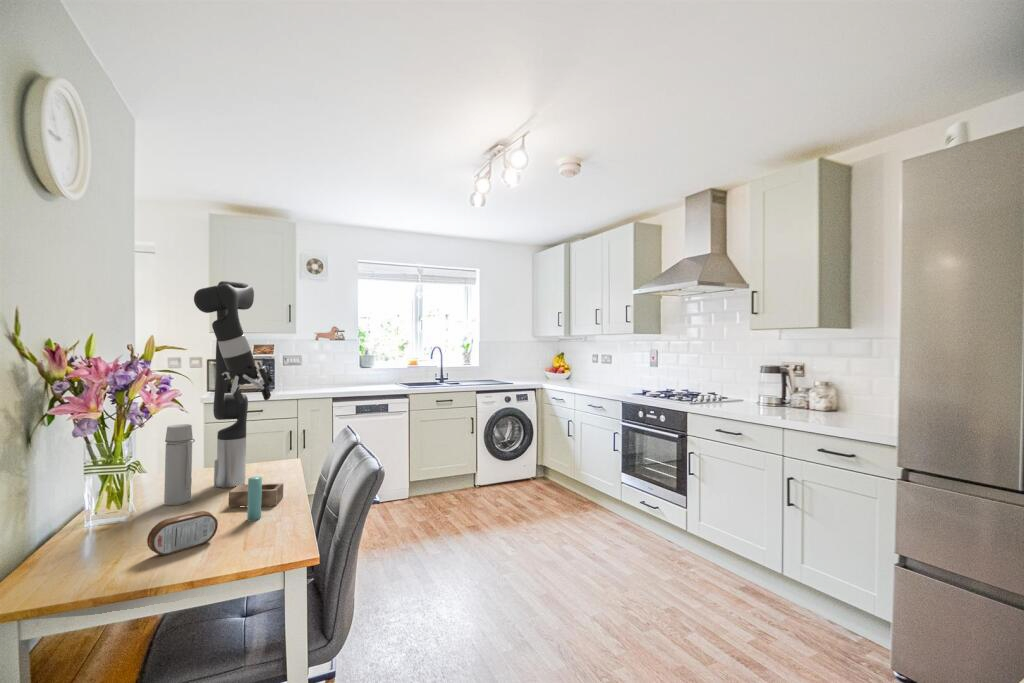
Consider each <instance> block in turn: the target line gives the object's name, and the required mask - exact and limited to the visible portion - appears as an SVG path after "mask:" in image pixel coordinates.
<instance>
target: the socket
mask: <svg viewBox="0 0 1024 683" xmlns="http://www.w3.org/2000/svg"><path fill="white" fill-rule="evenodd" d="M282 498H283V499H284V483H283V482H282V483H262V497H261V506H263V507H270V506H269V505H272V506H271V507H276V506H277V505H279V504H280V502H281V501H282V500H283V499H282ZM273 505H274V506H273ZM275 505H276V506H275ZM240 506H248V484H243V485H238V486H236V487H233V488H232V489H231V490H230V491H229V492H228V507H239V508H241V507H240Z"/></svg>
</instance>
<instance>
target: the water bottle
mask: <svg viewBox="0 0 1024 683" xmlns="http://www.w3.org/2000/svg"><path fill="white" fill-rule="evenodd" d="M192 425H193V424H189V423H188V424H187V423H181V424H171V425H168V426H167V427H166V432H165V438H164V442H165V454H164V455H165V456H164V457H165V459H164V460H165V461H164V463H165V464H164V492H163V493H164V495H163V496H164V498H163V502H164V504H165V505H166V506H170V505H175V506H181V505H184V503H185V504H187V503H188V502H190V500H191V498H192V483H193V481H192V469H193V468H192V466H193V464H192V463H193V443H194V442H195V439H194V438H193V429H192V428H193V426H192ZM180 504H181V505H180Z"/></svg>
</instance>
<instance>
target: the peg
mask: <svg viewBox="0 0 1024 683" xmlns="http://www.w3.org/2000/svg"><path fill="white" fill-rule="evenodd" d="M262 484H263V477H262V476H251V477H249V478H248V479H247V485H248V507H247V512H246V513H247V514H246V515H247V516H246V518H247V519H248V520H255V521H258V520H257V519H259V520H260V518H262V507H261V497H262ZM248 520H247V521H248Z"/></svg>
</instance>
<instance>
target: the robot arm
mask: <svg viewBox="0 0 1024 683" xmlns="http://www.w3.org/2000/svg"><path fill="white" fill-rule="evenodd" d="M254 299H255V292H254V288H253V286H252V285H250V284H248V283H244V282H236V281H227V280H226V281H225V280H222V281H220V282H218V284H217V285H213V286H208V287H203V288H200V289H198V290H196V291H195V293H194V296H193V302H194V304H195V306H196V308H197V309H198V310H199V311H200V312H202V313H206V314H209V313H215V312H216V320H214V321H213V322H212V324H211V327H212V331H213V333H214V335H215V338H216V345H215V386H214V397H213V409H212V410H213V417H214V419H215V420H217V421H218V420H220V421H221V420H222V421H225V420H226V421H227V420H236V421H235V422H234V423H233V424H232V425H229V426H227V427H224V428H221V429H219V430H218V431H217V435H216V436H217V439H216V440H217V443H216V445H217V446H216V447H217V448H216V459H215V460H214V464H213V465H214V469H213V488H220V487H222V488H221V489H223V488H224V489H225V487H226V488H227V487H229V488H235V486H238V485H245V484H244V483H246V470H247V469H246V467H247V464H246V461H247V460H246V458H247V423H248V422H247V419H248V410H249V402H248V401H249V400H248V398H249V397H248V396H247V394H244V393H242V391H241V390H240V388H241V386H244V385H251V384H252V385H254V386H257V387H258V388H259V389H260V392H261V394H262V397H263V400H264V401H269V399H270V398H271V396H272V394H271V391H270V389H269V387H270V386H271V385H272V384H273V383H274V381H273V378H272V375H271V373H270V371H269V369H268V366H267V365H263V366H261V367H257V366H256V361H255V360H256V359H255V358H254V355H253V352H252V350H251V347H250V344H249V340H248V339H247V338H246V336H245V333H244V330H243V326H242V325H241V322H240V318H239V310H241V311H242V310H243V311H244V310H249V309H250V308H252V306H253V304H254V302H255V301H254ZM232 380H233V382H232ZM228 393H229V394H228Z"/></svg>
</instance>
